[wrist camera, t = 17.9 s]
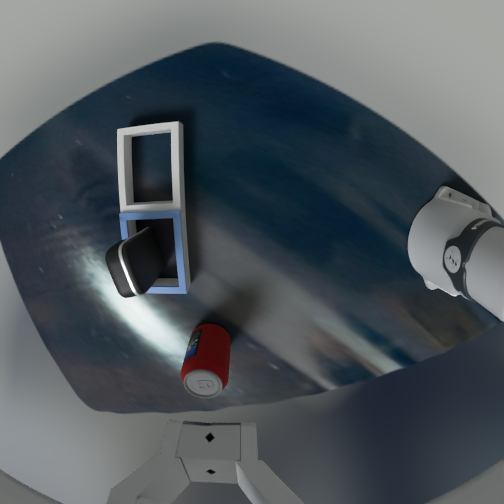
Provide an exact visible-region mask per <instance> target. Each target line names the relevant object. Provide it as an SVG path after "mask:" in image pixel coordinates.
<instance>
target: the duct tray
mask: <svg viewBox="0 0 504 504" xmlns="http://www.w3.org/2000/svg"><path fill="white" fill-rule="evenodd" d="M168 132H171V158H172V189H173V200H172V201H154V202H138V203H134V195H133V177H132V137H134V136H142V135H150V134H159V133H168ZM117 154H118V181H119V198H120V210H121V213H120V214H119V216H120V226H121V235H122V240H124V239H127V238H129V237H131V236H133V235H135V234H136V233H137V232H136V221H135V220H142V219H164V218H173V224H174V237H175V250H176V261H177V271H178V278H157V279H156V280H155V282H154V283H153V285H152V286H151V288H150V289H149V290H148V291H147V292H146V293H170V294H187V292H188V289H189V287H190V285H191V281H190V270H189V258H188V244H187V229H186V212H185V190H184V155H183V124H182V123H180V122H179V121H177V122H167V123H158V124H150V125H142V126H135V127H129V128H123V129H117Z"/></svg>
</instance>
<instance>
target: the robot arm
mask: <svg viewBox="0 0 504 504" xmlns="http://www.w3.org/2000/svg"><path fill="white" fill-rule="evenodd" d="M449 194H450V195H449ZM408 253H409V258H410V261H411V263H412V265H413V267H414V269H415V270H416V271H417V272H418V273H419V274H420V275H421V276H422V277H423V279H424V282H425V284H426V286H427V288H429V289H431V290H434V289H437V288H440V289H442V290H443V291H445V292H447V293H449V294H450V295H452V296H457V295H460V294H461V295H462V296H463V297H465V298H466V299H468V300H470V301H472V302H475V303H479V304H481V305H482V306H483V307H485V308H486V309H488V310H489V311H490V312H491V313H493V314H494V315H495V316H497V317H498V318H499V319H501V320H502V321H503V322H504V226H503V225H501V224H500V222H499V220H497V219H495V218H493V217H492V213H491V209H490V207H489V205H487V204H484V203H481V202H479V201H477V200H475V199H473V198H471V197H469V196H467V195H465V194H462V193H460V192H458V191H456V190H454V189H451V188H449V187H447V186H441V187H440V188H439V190H438V191H437V193H436V195H435V197H434V198H433V199H432V200H431V201H430V202H428V203H427V204H426V205H425V206H424V207H423V208H422V209H421V210H420V211H419V212H418V214H417V215H416V217H415V219H414V221H413V223H412V226H411V229H410V233H409V238H408ZM190 481H197V482H217V483H238V484H239V486H240V487H241V489H242V490H243V491H244V493H245V494H246V495H247V497H248V498H249V499H250V501H251V502H252V503H253V504H304V503H303V502H302V501H301V500H300V499H299V498H298V497H297V496H296V495H295V494H294V493H293V492H292V491H291V490H290V489H289V488H288V487H287V486H286V485H285V484H284V483H283V482H282V481H281V480H280V479H279V478H278V477H277V476H276V475H275V473H273V471H272V470H271V469H270V468H269V467H268V466H267V465H266V464H265V463H264V462H263V460H258V450H257V429H256V423H201V422H189V421H179V420H169V422H168V424H167V428H166V432H165V436H164V440H163V444H162V448H161V452H160V455H155V456H153V457H152V458H151V459H150V460H149V461H147V462H146V463H145V464H144V465H142V466H141V467H140V468H138V469H137V470H136V471H135V472H133V473H132V474H131V475H129V476H128V477H127V478H125V479H124V480H123V481H121V482H120V483H119V484H117V485H116V486H115V487H113V488H112V489H111V491H110V494H109V498H108V501H107V504H171V503H172V502H173V501H174V500H175V498H176V497H177V496H178V495H179V494H180V493H181V492H182V491H183V490H184V489H185V487H187V485H188V484H189V483H190ZM0 504H62V503H61V502H58V501H56V500H54V499H52V498H50V497H48V496H46V495H44V494H42V493H40V492H38V491H36V490H34V489H32V488H30V487H29V486H27V485H25V484H23V483H21V482H20V481H18V480H16V479H15V478H13V477H12V476H10V475H8V474H7V473H5V472H4V471H2V470H1V469H0ZM425 504H504V459H502V460H501V461H499V462H498V463H496V464H495V465H493V466H492V467H491V468H489V469H487V470H486V471H484V472H483V473H481V474H480V475H478V476H476V477H475V478H473V479H471V480H470V481H468V482H466V483H465V484H463V485H461V486H459V487H457V488H455V489H454V490H452V491H450V492H448V493H446V494H444V495H442V496H440V497H438V498H436V499H433V500H431V501H429V502H427V503H425Z"/></svg>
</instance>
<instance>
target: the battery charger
mask: <svg viewBox="0 0 504 504" xmlns="http://www.w3.org/2000/svg"><path fill="white" fill-rule="evenodd" d="M105 259H106V263H107V266H108V269H109V271H110V274H111V276H112V279H113V281H114V284H115V286H116V288H117V290H118V292H119V294H120V295H121V296H123V297H125V298H127V297H133V296H141V295H143V294H145V293H146V292H147V291H148V290H149V289H150V288H151V286H152V285H153V283H154V282H155V280H156V279H157V277H158V276H159V274H160V272H161V271H162V270H163V268H164V267H165V266H166V264H165V261H164V258H163V256H162V253H161V250H160V247H159V244H158V241H157V238H156V235H155V233H154V230H153V227H146V228H145V229H142V230H140V231H139V232H137V233H136V234H135V235H133V236H131V237H129V238H127V239H124V240H121V241H119V242H118V243H116V244H115V245H114V246H112V247H111V248H110V249H109V250H108V251H107V253H106V258H105Z"/></svg>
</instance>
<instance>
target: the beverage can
mask: <svg viewBox="0 0 504 504" xmlns="http://www.w3.org/2000/svg"><path fill="white" fill-rule="evenodd" d="M230 344H231V340H230V336H229V334H228V332H227V331H226V330H225V329H224V328H222V327H220V326H218V325H215V324H203V325H200V326H198V327H197V328H195V329H194V331H193V332H192V335H191V338H190V341H189V344H188V348H187V351H186V355H185V358H184V362H183V366H182V370H181V378H182V381H183V383H184V386H185V388H186V390H187V391H188V392H189V393H191V394H192V395H194V396H196V397H200V398H212V397H215V396H217V395H218V394H220V392H221V391H222V390H223V389H224V388H225V386H226V385H227V383H228V375H229V362H230Z"/></svg>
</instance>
